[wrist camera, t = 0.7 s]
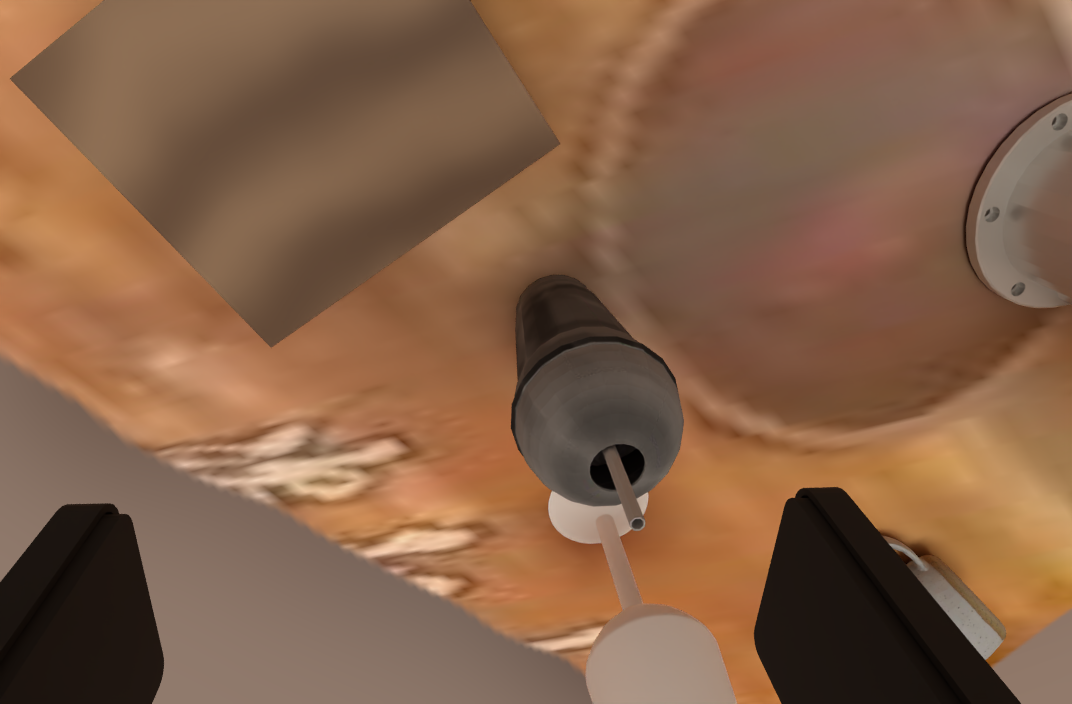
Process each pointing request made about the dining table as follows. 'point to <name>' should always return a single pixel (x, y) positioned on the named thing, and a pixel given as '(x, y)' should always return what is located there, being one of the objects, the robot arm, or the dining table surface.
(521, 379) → the beverage cup
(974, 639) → the ceramic mug
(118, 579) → the robot arm
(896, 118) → the dining table surface
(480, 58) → the walnut shelf
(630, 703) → the champagne flute
